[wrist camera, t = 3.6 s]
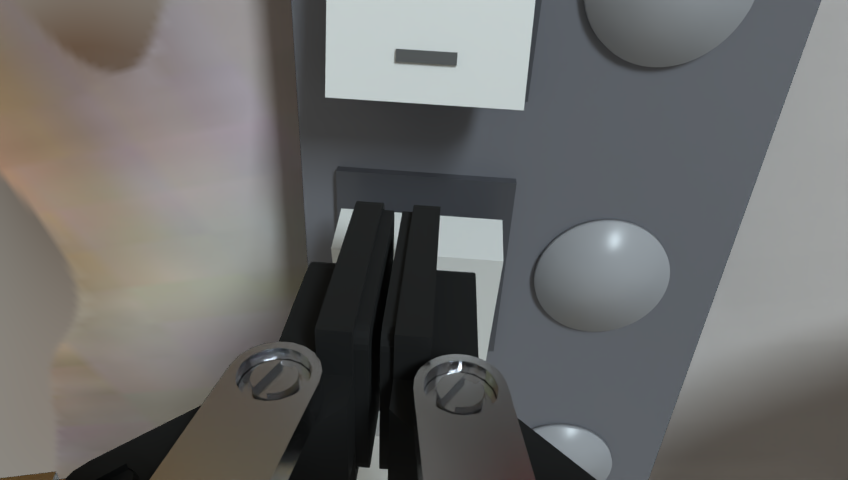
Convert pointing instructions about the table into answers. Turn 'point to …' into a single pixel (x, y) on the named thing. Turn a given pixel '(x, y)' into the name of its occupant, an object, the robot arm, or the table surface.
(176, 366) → the table surface
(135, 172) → the table surface
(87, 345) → the table surface
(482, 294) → the rocker
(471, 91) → the rocker
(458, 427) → the robot arm
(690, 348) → the rocker switch panel
